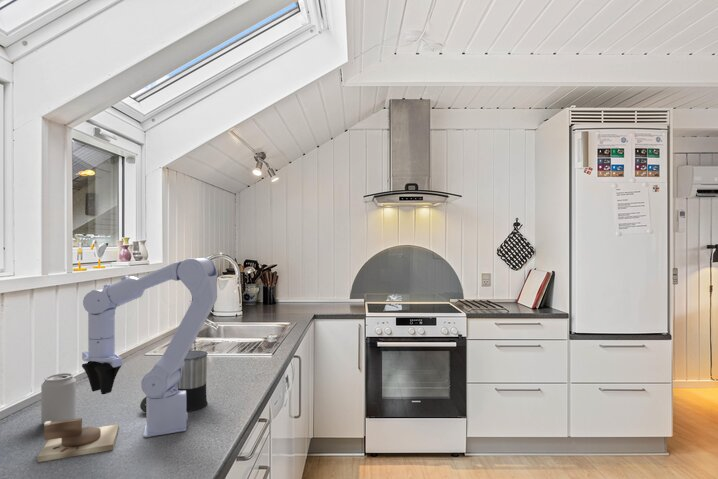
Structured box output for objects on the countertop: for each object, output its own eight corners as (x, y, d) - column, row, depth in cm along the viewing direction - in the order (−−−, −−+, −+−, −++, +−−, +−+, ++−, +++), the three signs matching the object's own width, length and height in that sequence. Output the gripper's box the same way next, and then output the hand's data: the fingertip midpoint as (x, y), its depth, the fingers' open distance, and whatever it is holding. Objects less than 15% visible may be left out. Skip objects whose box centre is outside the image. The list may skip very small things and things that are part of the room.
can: (82, 415, 118) (82, 371, 118) (64, 427, 110) (64, 380, 110) (53, 416, 117) (53, 371, 118) (34, 428, 110) (34, 380, 110)
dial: (102, 429, 105) (102, 409, 105) (97, 442, 98) (97, 421, 98) (49, 437, 101) (49, 416, 101) (40, 452, 94) (40, 429, 94)
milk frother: (214, 403, 126) (214, 352, 126) (166, 423, 113) (166, 365, 113) (182, 395, 133) (182, 346, 134) (133, 412, 120) (133, 358, 120)
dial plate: (119, 428, 109) (119, 423, 109) (113, 449, 98) (113, 443, 98) (52, 439, 104) (52, 433, 104) (37, 462, 93) (37, 455, 93)
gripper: (69, 337, 109) (69, 391, 109) (101, 343, 102) (101, 401, 102) (98, 332, 115) (98, 383, 115) (130, 338, 108) (130, 392, 108)
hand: (101, 391), depth 109 cm, fingers open, 4 cm apart
